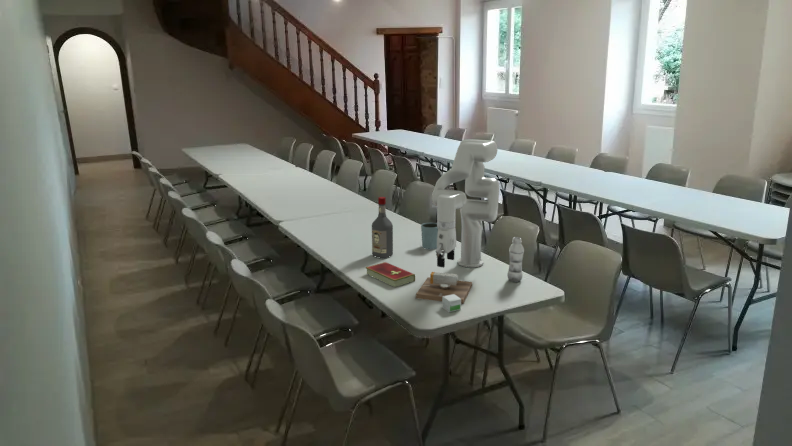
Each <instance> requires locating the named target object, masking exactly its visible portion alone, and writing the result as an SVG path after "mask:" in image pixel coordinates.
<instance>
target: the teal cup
mask: <svg viewBox="0 0 792 446" xmlns="http://www.w3.org/2000/svg"><path fill="white" fill-rule="evenodd" d="M420 229H421V231H420V232H421V247H422V248H423V249H424V248H425V249H424V250H436V249H437V235H438V228H437V222H423V223H422V224H420Z"/></svg>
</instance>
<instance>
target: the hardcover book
mask: <svg viewBox="0 0 792 446" xmlns="http://www.w3.org/2000/svg"><path fill="white" fill-rule="evenodd" d="M365 269H366V275H367V274H369V275H370V276H369V275H368V276H369V277H371V276H373V277H375V278H374V279H376V278H377V280H378V279H379V280H378V281H380V280H381V281H380V282H382V281H383V283H384V282H385V284H386V285H389V286H391V287H393V288H397V287H399V286H403V285H406V284H410V283H412V282H413V283H414V282H415V281H416V274H415V273H412V272H410V271H409V270H406V269H404V268H401V267H398V266H397V265H394V264H391V263H389V262H387V261H385V262H384V261H383V262H379V263H376V264H374V265H370V266H366V267H365ZM373 277H372V278H373ZM409 282H410V283H409Z"/></svg>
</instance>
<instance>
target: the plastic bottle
mask: <svg viewBox="0 0 792 446" xmlns="http://www.w3.org/2000/svg"><path fill="white" fill-rule="evenodd" d="M511 241H512V244H510V246H509V248H508V253H509V265H508V271H507V279H508V281H510V282H514V283H515V282H521V281H522V279H523V258H524V253H525V248H524V245H523V244H522V237H519V236H514V237H512V240H511Z"/></svg>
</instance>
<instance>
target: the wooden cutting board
mask: <svg viewBox="0 0 792 446" xmlns="http://www.w3.org/2000/svg"><path fill="white" fill-rule="evenodd" d="M472 287H473V281H465V280H458V279H457V285H456V286H454V285H450V288H449V289H441V288H440V284H430V277H429V276H427V277H426V279H425V280H424V282H423V283H422V285H420V287H419V289H418V290H417V292H416V293H415V299H418V300H419V299H420V300H427V301H428V300H429V301H436V302H442V297H443V296H447V295H452V294H455V295H456V296H458V297H459V298H461V305H464V304H465V302H466V299H467V297H468V296H469V293H470V292H471V289H472Z"/></svg>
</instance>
